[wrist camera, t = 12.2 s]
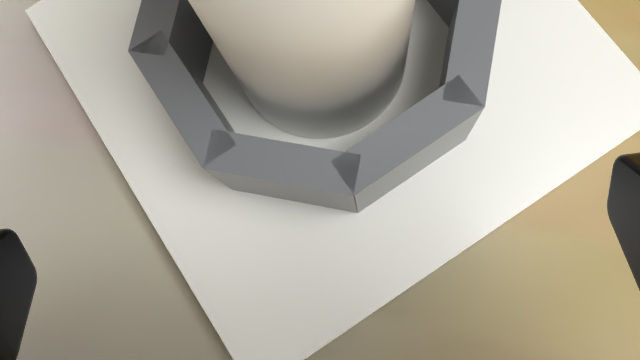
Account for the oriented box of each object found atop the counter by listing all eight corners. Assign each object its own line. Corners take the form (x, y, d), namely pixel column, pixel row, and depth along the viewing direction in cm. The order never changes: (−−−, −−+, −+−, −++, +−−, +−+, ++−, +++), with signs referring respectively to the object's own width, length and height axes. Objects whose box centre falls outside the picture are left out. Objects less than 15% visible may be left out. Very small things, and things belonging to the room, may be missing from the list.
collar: (261, 388, 17) (225, 416, 13) (42, 24, 20) (-40, -42, 16) (654, 118, 17) (735, 67, 13) (382, -199, 20) (384, -317, 16)
